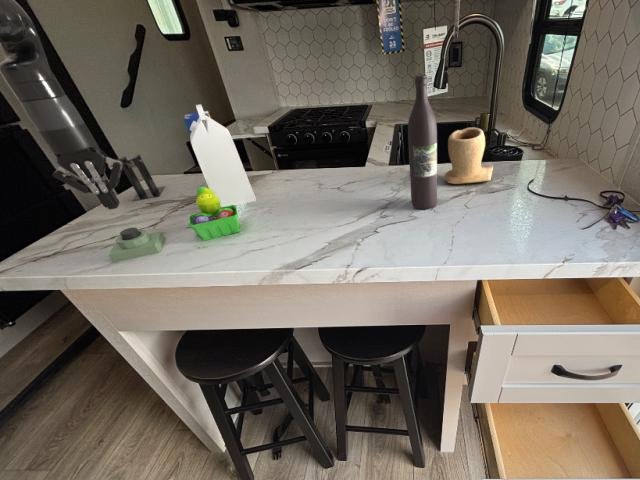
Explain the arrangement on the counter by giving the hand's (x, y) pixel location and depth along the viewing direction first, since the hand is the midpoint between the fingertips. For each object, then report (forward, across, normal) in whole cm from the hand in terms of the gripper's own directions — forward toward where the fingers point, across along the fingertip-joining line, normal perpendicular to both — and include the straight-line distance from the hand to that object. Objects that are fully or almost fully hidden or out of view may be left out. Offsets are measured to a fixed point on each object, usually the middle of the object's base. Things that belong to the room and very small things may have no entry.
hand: (114, 207), depth 77 cm
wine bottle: (+12, -73, +9) cm, 74 cm away
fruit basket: (+12, -19, -1) cm, 22 cm away
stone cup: (+12, -92, 0) cm, 93 cm away
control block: (+11, 0, 0) cm, 11 cm away
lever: (0, +6, -37) cm, 38 cm away
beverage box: (+11, -18, -40) cm, 45 cm away
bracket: (+11, +6, -42) cm, 44 cm away
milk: (+11, -22, -24) cm, 34 cm away
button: (+8, 0, 0) cm, 8 cm away
